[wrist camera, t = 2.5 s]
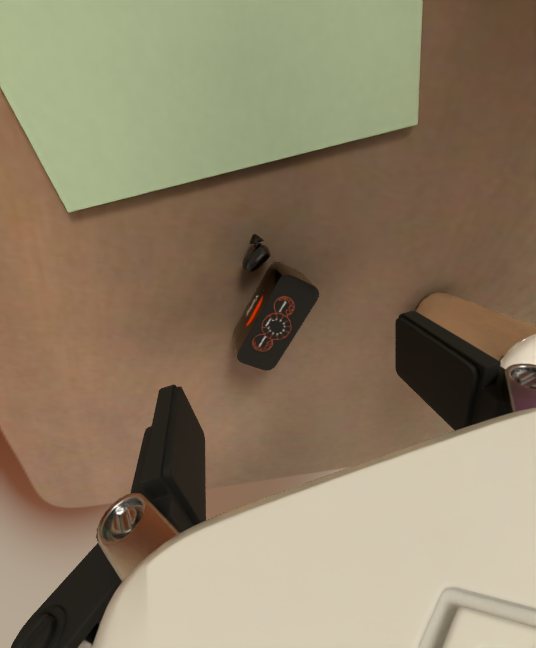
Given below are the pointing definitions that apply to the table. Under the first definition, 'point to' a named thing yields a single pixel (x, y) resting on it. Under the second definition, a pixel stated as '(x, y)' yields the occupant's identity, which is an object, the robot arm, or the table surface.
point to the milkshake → (483, 328)
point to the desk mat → (200, 85)
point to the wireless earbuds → (272, 310)
